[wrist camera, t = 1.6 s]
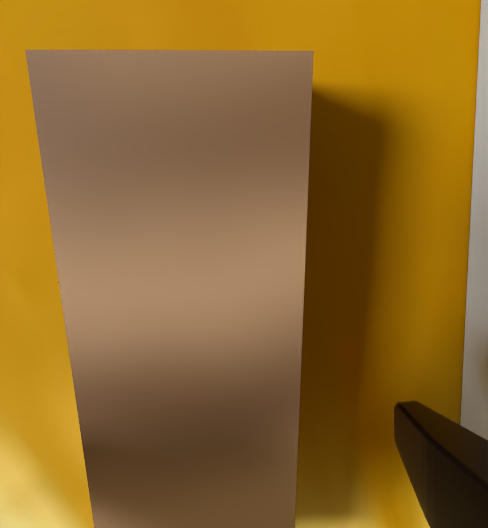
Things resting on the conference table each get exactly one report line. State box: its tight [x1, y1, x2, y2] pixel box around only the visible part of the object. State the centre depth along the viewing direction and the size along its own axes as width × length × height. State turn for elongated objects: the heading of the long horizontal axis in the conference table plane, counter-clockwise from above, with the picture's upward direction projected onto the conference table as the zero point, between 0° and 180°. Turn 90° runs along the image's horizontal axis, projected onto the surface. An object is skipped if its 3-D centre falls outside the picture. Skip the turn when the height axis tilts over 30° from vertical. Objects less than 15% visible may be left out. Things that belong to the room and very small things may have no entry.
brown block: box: [26, 50, 313, 528], centre depth 12 cm, size 15×5×4 cm, turn 0°
